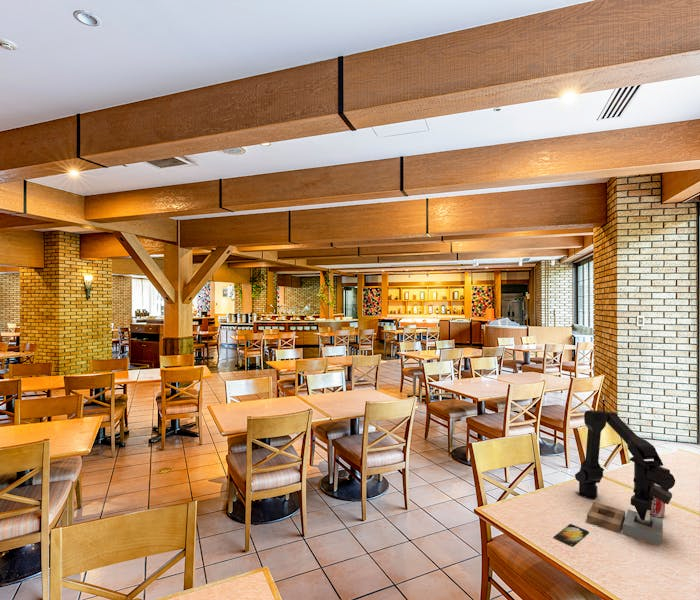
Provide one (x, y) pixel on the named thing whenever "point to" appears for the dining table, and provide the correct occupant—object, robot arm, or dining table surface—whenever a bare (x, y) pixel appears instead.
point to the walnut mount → (606, 517)
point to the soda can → (657, 507)
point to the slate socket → (643, 528)
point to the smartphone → (571, 535)
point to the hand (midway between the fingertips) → (643, 517)
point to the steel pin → (647, 519)
